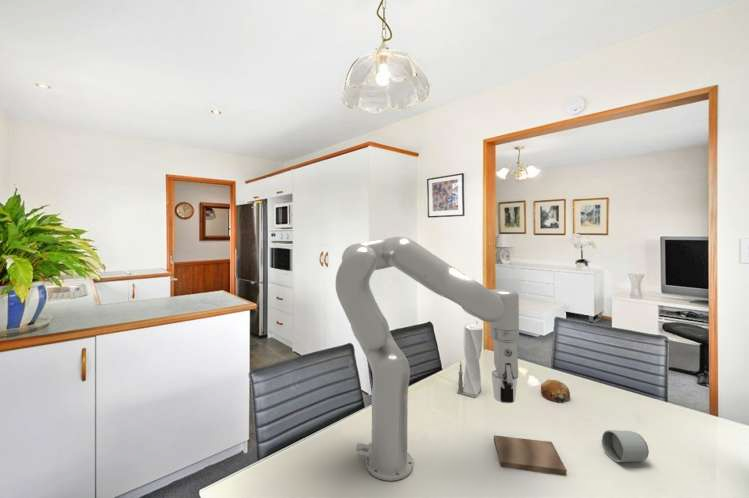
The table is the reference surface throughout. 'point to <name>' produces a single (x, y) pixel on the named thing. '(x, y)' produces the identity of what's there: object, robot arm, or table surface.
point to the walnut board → (528, 455)
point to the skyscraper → (471, 361)
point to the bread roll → (555, 391)
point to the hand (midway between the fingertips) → (504, 395)
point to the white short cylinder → (498, 384)
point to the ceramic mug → (624, 446)
